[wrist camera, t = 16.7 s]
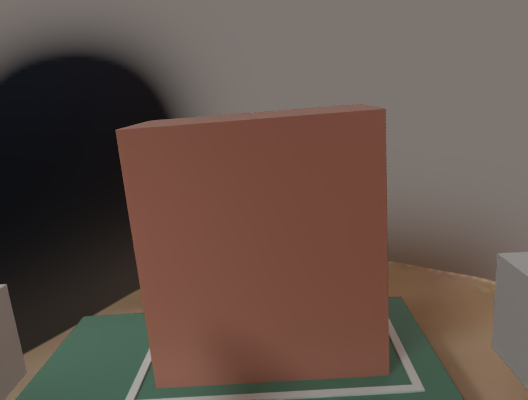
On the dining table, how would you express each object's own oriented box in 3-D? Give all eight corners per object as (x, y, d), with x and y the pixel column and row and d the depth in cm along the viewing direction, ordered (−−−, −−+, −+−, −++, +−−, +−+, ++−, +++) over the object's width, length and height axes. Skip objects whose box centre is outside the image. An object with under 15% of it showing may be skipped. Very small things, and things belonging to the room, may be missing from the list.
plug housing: (156, 388, 21) (115, 129, 18) (178, 330, 26) (149, 120, 23) (389, 375, 21) (385, 108, 18) (366, 318, 26) (360, 104, 23)
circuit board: (-33, 515, 18) (-76, 368, 16) (89, 344, 29) (71, 250, 28) (489, 491, 17) (497, 334, 15) (401, 325, 28) (400, 227, 27)
